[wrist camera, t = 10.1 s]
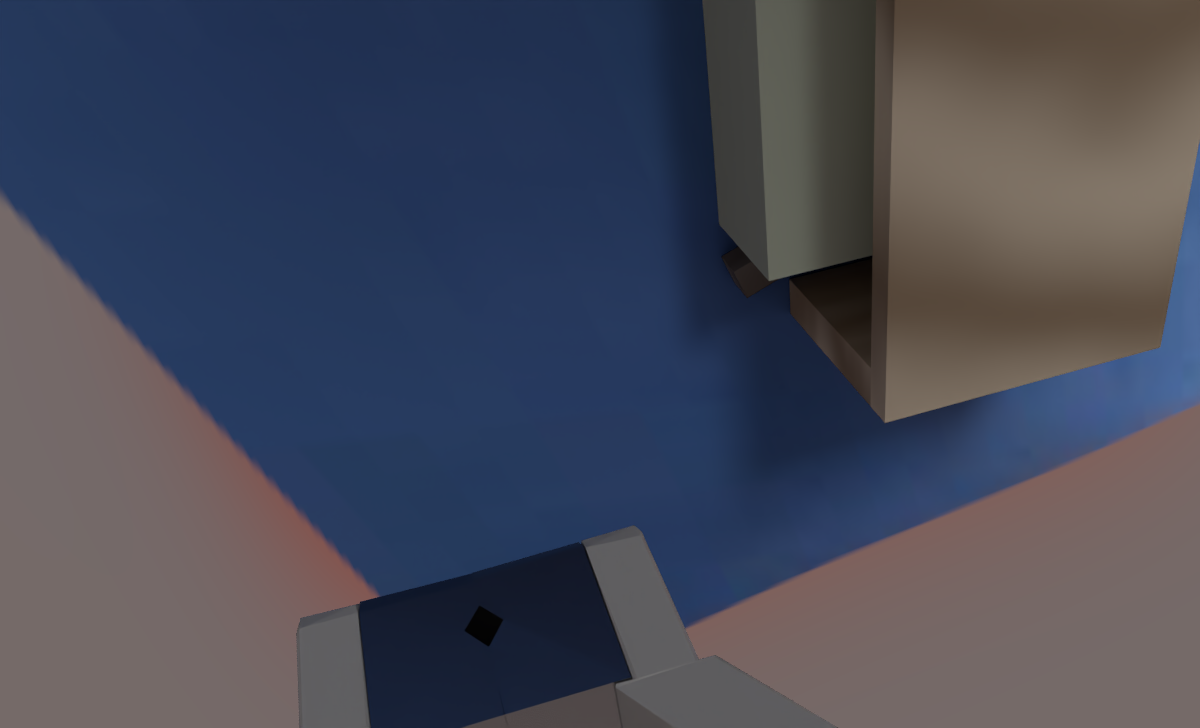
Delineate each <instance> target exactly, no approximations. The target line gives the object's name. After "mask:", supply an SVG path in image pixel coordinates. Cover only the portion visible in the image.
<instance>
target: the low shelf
mask: <svg viewBox="0 0 1200 728" xmlns="http://www.w3.org/2000/svg"><path fill="white" fill-rule="evenodd" d="M1199 140H1200V0H876V38H875V111H874V185H873V258H872V259H868V260H864V261H860V262H856V263H852V264H848V265H844V266H840V267H836V268H832V269H828V270H824V271H820V272H816V273H812V274H808V275H804V276H800V277H796V278H792V279H789V283H790V312H791V315H792V316H793V317H794V318H795V320H796V321H797V322H798V323H799V324H800V325H801V326H802V328H803V329H804V330H805V331H806V332H807V333H808V335H809V336H810V337H811V338H812V339H813V340H814V342H815V343H816V344H817V345H818V346H819V347H820V348H821V350H822V351H823V352H824V353H825V354H826V355H827V357H828V358H829V359H830V360H831V361H832V362H833V363H834V365H835V366H836V367H837V368H838V369H839V370H840V372H841V373H842V374H843V375H844V376H845V377H846V379H847V380H848V381H849V382H850V383H851V384H852V385H853V387H854V388H855V389H856V390H857V391H858V392H859V394H860V395H861V396H862V397H863V398H864V399H865V400H866V402H867V403H868V404H869V405H870V406H871V407H872V409H873V410H874V411H875V412H876V413H877V414H878V416H879V417H880V418H881V419H882V420H883V421H884V422H885V423H887V422H890V421H894V420H898V419H901V418H905V417H909V416H912V415H916V414H920V413H923V412H927V411H930V410H934V409H938V408H941V407H945V406H949V405H952V404H956V403H960V402H963V401H967V400H970V399H974V398H978V397H981V396H985V395H989V394H992V393H996V392H1000V391H1003V390H1007V389H1010V388H1014V387H1018V386H1021V385H1025V384H1029V383H1032V382H1036V381H1039V380H1043V379H1047V378H1050V377H1054V376H1058V375H1061V374H1065V373H1069V372H1072V371H1076V370H1079V369H1083V368H1087V367H1090V366H1094V365H1098V364H1101V363H1105V362H1109V361H1112V360H1116V359H1119V358H1123V357H1127V356H1130V355H1134V354H1138V353H1141V352H1145V351H1149V350H1152V349H1156V348H1159V347H1160V345H1161V340H1162V335H1163V329H1164V324H1165V319H1166V314H1167V308H1168V303H1169V298H1170V293H1171V287H1172V282H1173V277H1174V272H1175V266H1176V261H1177V256H1178V250H1179V245H1180V240H1181V235H1182V229H1183V224H1184V219H1185V214H1186V208H1187V203H1188V198H1189V193H1190V187H1191V182H1192V177H1193V172H1194V166H1195V161H1196V156H1197V150H1198V145H1199ZM722 259H723V261H724V263H725V265H726V267H727V269H728V271H729V273H730V275H731V277H732V279H733V281H734V283H735V284H736V285H737V286H738V287H739V289H740V290H741V291H742V292H743V294H744V295H745V296H746V297H747V298H748V297H750V296H751V295H753V294H755V293H756V292H758V291H760V290H761V289H763V288H765V287H766V286H768V285H770V284H771V283H773V282H775V281H777V280H778V279H775V280H771V281H768V280H767V278H766V277H765V276H764V275H763V274H762V273H761V272H760V270H759V269H758V268H757V267H756V266H755V265H754V264H753V262H752V261H751V260H750V259H749V258H748V257H747V256H746V254H745V253H744V252H743V251H742V250H741V249H740V248H739V247H737V248H735V249H734V250H732V251H730V252H729V253H727V254H725V255H724V256H722ZM779 279H780V278H779Z"/></svg>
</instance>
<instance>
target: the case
mask: <svg viewBox="0 0 1200 728" xmlns="http://www.w3.org/2000/svg"><path fill="white" fill-rule="evenodd" d="M702 1H703V14H704V27H705V41H706V54H707V68H708V81H709V95H710V108H711V122H712V135H713V149H714V162H715V175H716V189H717V202H718V216H719V225H720V226H721V227H722V228H723V229H724V230H725V232H726V233H727V234H728V235H729V236H730V237H731V238H732V240H733V241H734V242H735V243H736V244H737V245H738V246H739V248H740V249H741V250H742V251H743V252H744V253H745V254H746V256H747V257H748V258H749V259H750V260H751V261H752V262H753V264H754V265H755V266H756V267H757V268H758V269H759V270H760V272H761V273H762V274H763V275H764V276H765V277H766V278H767V280H768V281H771V280H775V279H779V278H783V277H787V276H791V275H795V274H799V273H803V272H807V271H811V270H815V269H819V268H823V267H828V266H832V265H836V264H840V263H844V262H848V261H852V260H856V259H860V258H864V257H868V256H872V255H873V185H874V111H875V38H876V0H702Z"/></svg>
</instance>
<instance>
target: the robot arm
mask: <svg viewBox="0 0 1200 728" xmlns="http://www.w3.org/2000/svg"><path fill="white" fill-rule="evenodd" d="M296 636H297V667H298V696H299V697H298V698H299V728H838V727H836V726H834V725H833V724H831V723H829V722H827V721H826V720H824V719H822V718H821V717H819V716H817V715H816V714H814V713H812V712H811V711H809V710H807V709H806V708H804V707H802V706H800V705H799V704H797V703H795V702H794V701H792V700H790V699H789V698H787V697H785V696H784V695H782V694H780V693H779V692H777V691H775V690H773V689H772V688H770V687H768V686H767V685H765V684H763V683H762V682H760V681H758V680H757V679H755V678H753V677H752V676H750V675H748V674H747V673H745V672H743V671H741V670H740V669H738V668H736V667H735V666H733V665H731V664H729V663H728V662H726V661H725V660H723V659H721V658H720V657H718V656H716V655H714V656H711V657H707V658H703V659H698V657H697V655H696V652H695V650H694V648H693V645H692V643H691V641H690V639H689V637H688V634H687V632H686V630H685V628H684V625H683V623H682V621H681V619H680V616H679V614H678V612H677V610H676V608H675V605H674V603H673V601H672V599H671V596H670V594H669V592H668V590H667V587H666V585H665V583H664V581H663V579H662V576H661V574H660V572H659V570H658V567H657V565H656V563H655V561H654V559H653V556H652V554H651V552H650V550H649V547H648V545H647V543H646V541H645V538H644V536H643V534H642V532H641V531H640V530H639V529H638V528H637V527H635V526H630V527H627V528H623V529H620V530H616V531H613V532H610V533H606V534H603V535H599V536H596V537H593V538H589V539H586V540H582V541H581V544H580V543H579V542H577V543H574V544H570V545H567V546H563V547H560V548H556V549H553V550H549V551H546V552H542V553H539V554H536V555H532V556H529V557H525V558H522V559H518V560H515V561H511V562H508V563H504V564H501V565H497V566H494V567H490V568H487V569H484V570H480V571H477V572H473V573H472V574H468V575H464V576H460V577H456V578H452V579H448V580H444V581H440V582H436V583H432V584H428V585H425V586H421V587H417V588H413V589H409V590H405V591H401V592H397V593H393V594H389V595H385V596H381V597H377V598H373V599H370V600H366V601H362V602H360V604H356V605H352V606H348V607H344V608H340V609H336V610H332V611H328V612H324V613H320V614H315V615H312V616H307V617H303V618H301V619H300V623H299V626H298V630H297V633H296Z"/></svg>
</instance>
